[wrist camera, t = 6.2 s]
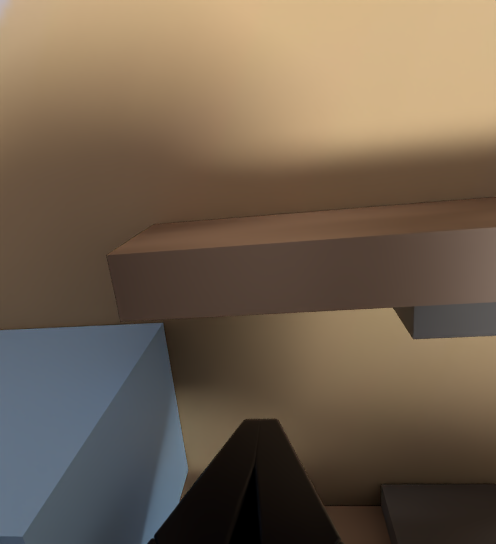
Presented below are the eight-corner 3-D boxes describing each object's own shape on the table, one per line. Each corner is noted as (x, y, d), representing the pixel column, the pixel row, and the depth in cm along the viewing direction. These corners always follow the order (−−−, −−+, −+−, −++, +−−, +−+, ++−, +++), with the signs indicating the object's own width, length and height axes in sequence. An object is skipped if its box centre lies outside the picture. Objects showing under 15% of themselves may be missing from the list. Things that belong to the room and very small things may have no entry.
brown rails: (763, 175, 8) (979, 192, 5) (655, 541, 10) (763, 658, 8) (153, 224, 9) (106, 254, 7) (207, 536, 12) (187, 636, 9)
